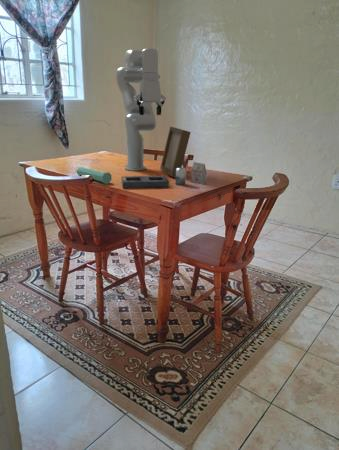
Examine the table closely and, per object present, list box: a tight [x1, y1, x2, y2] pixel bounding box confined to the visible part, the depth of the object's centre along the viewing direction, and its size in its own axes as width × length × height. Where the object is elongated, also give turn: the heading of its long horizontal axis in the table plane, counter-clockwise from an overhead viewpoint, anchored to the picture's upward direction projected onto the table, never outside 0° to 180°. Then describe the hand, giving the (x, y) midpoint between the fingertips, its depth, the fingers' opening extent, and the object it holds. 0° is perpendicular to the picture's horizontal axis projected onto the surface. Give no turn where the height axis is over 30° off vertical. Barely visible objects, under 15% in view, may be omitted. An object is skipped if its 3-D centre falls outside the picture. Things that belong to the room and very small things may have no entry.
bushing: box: [175, 166, 187, 186], centre depth 176 cm, size 5×5×8 cm
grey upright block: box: [190, 161, 207, 185], centre depth 180 cm, size 4×7×10 cm, turn 48°
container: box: [76, 166, 113, 185], centre depth 181 cm, size 6×6×25 cm
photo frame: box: [160, 126, 191, 178], centre depth 197 cm, size 15×22×25 cm
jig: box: [121, 175, 170, 189], centre depth 173 cm, size 12×22×3 cm, turn 100°
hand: (150, 115), depth 174 cm, fingers open, 9 cm apart
